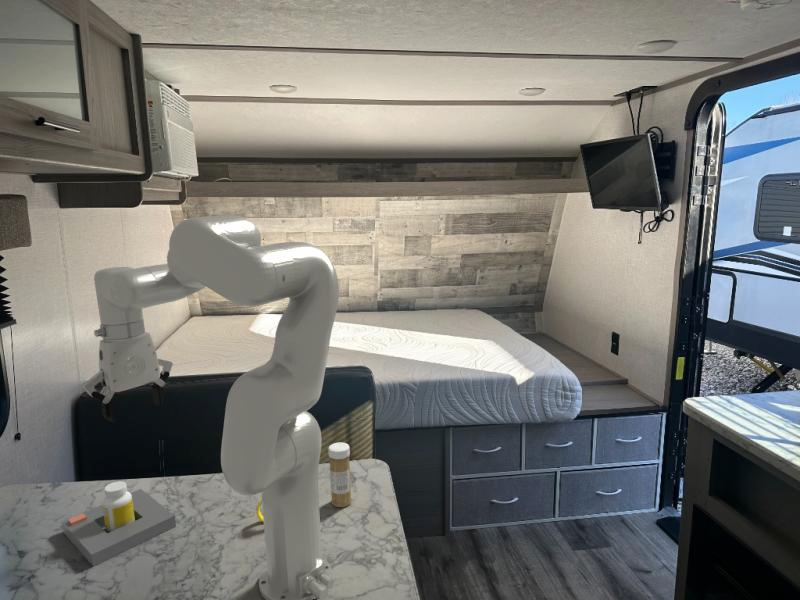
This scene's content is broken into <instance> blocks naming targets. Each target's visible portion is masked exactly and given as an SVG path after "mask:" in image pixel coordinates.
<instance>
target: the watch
mask: <svg viewBox="0 0 800 600" xmlns="http://www.w3.org/2000/svg"><path fill="white" fill-rule="evenodd" d="M261 505H262V499H260V501H259V502H258V504H257V507H256V515H257V518H258V519H259V521H261V522H262V523H264V521H263V513H262V511H261Z"/></svg>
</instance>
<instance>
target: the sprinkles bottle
mask: <svg viewBox="0 0 800 600" xmlns="http://www.w3.org/2000/svg"><path fill="white" fill-rule="evenodd" d="M350 449H351V448H350V445H349V444H348V443H346V442H335V443H331V445H329V446H328V452H327V453H328V458H329V474H330V476H329V477H330V479H329V480H330V491H331V504H332V506H333V507H336V508H345V507H348V506H349V505H351V504H352V493H351V492H352V490H351V489H352V484H351V483H352V480H351V469H350V468H351V467H350V455H351V450H350Z"/></svg>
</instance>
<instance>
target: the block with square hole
mask: <svg viewBox="0 0 800 600" xmlns="http://www.w3.org/2000/svg"><path fill="white" fill-rule="evenodd" d="M130 493H131V495H132V501H133V509H134V517H135V521H134V522H132V523H130V524H127V525H125V526H123V527H121V528H118V529H116V530H114V531H112V532H110V533H106V530H105V529H104V528H106V527H105V520H104V513H103V506H102V504H101V505H98V506H96V507H93V508H92V509H91V508H90V509H89V510H86V511H84V512H82V513H79V514H77V515H74V516H71V517H69V518H67V519H64V520H62V521H61V527H62V532H64V533H63V534H64V535H65V536H66V537H67V538H68V539H70V542H71V543H72V544H73V545H74V546H75V548H76V549H77V550H78V551H79V552H80V553H81V554H82V556H83V557H84V558H85V559H86V560H87V562H89V564H90V565H91V566H92V567H97V565H100V564H102V563H104V562H106V561H108V560H110V559H113V558H114V557H116V556H118V555H120V554H122V553H124V552H127V551H129V550H130V549H133V548H135V547H137V546H139V545H141V544H143V543H145V542H147V541H149V540H151V539H153V538H155V537H158V536H159V535H162V534H163V533H166V532H168V531H170V530H172V529H174V528H176V527H177V523H176V521H177V520H176V515H175V514H174V513H172V512H171V511H170V510H169V509H168V508H166V507H165V506H164V505H162V504H161V503H159V502H158V501H157V500H156V499H154V498H153V496H150V495H149V494H148V493H147V492H145V490H143V489H141V488H140V489H136V490H135V491H133V492H130Z"/></svg>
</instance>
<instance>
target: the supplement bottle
mask: <svg viewBox="0 0 800 600" xmlns="http://www.w3.org/2000/svg"><path fill="white" fill-rule="evenodd" d="M127 490H128V487H127V483H126V482H125V481H120V480H119V481H114V482H111V483H109V484H107V485H106V486H105V487H104V496H105V497H104V498H103V499H102V504H101V505H102V506H103V513H104V520H105V527H104V528H105V532H106V533H110V532H112V531H114V530H116V529H118V528H121V527H123V526H125V525H127V524H130V523H132V522H134V521H136V520H135V517H134V509H133V501H132V495H131V493H132V492H130V491H127Z"/></svg>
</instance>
